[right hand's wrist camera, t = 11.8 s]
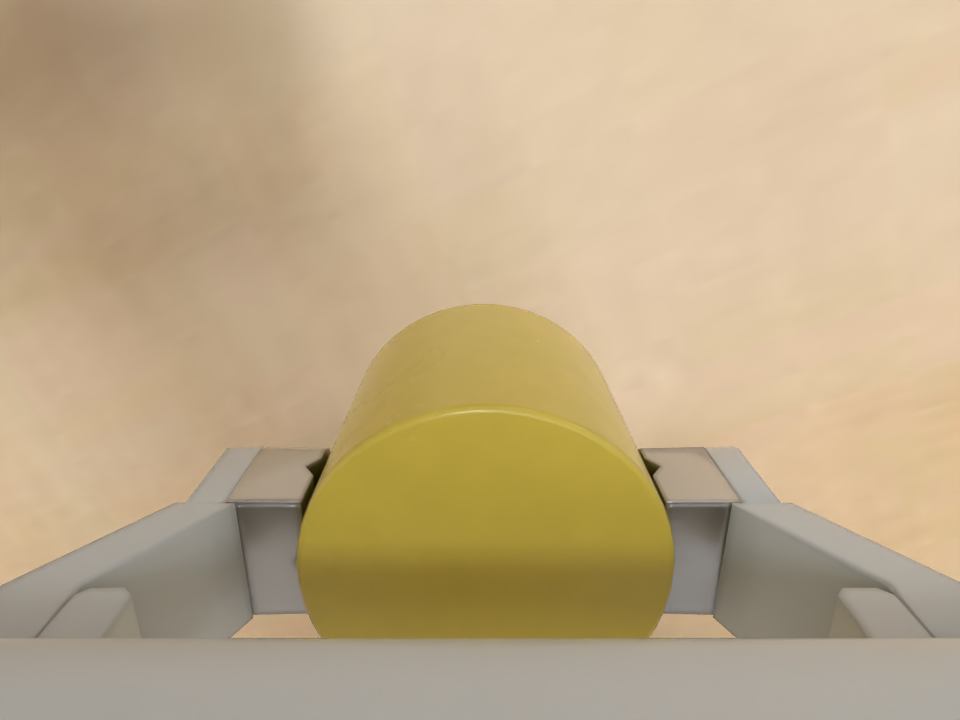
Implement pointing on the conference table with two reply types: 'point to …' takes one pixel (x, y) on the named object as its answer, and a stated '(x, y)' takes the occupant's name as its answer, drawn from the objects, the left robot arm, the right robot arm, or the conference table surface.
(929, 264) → the conference table surface
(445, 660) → the right robot arm
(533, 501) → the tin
